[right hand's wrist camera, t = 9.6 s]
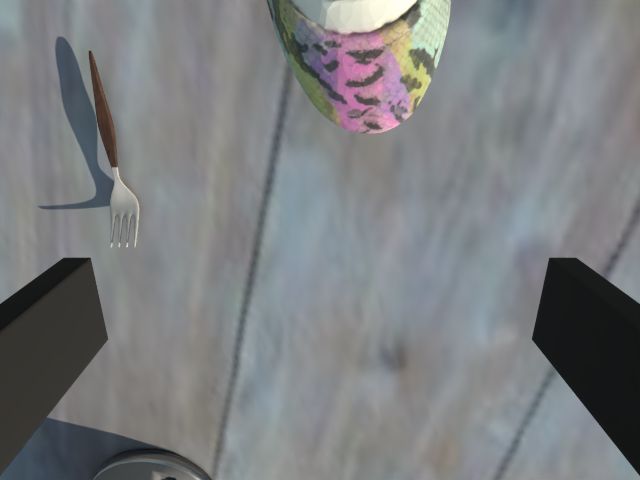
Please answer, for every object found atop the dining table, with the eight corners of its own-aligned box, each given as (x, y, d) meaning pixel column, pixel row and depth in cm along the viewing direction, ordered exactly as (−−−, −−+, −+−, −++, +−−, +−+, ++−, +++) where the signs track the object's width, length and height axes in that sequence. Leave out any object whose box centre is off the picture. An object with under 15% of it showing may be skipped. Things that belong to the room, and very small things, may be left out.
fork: (110, 50, 34) (97, 49, 32) (146, 238, 40) (137, 247, 38) (77, 51, 34) (62, 50, 32) (118, 239, 40) (108, 247, 38)
